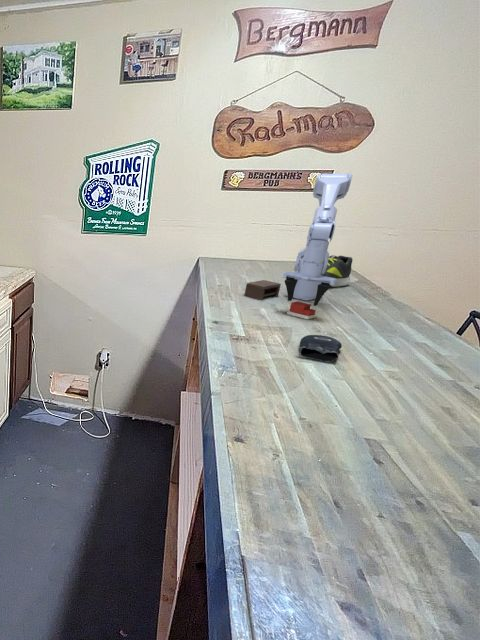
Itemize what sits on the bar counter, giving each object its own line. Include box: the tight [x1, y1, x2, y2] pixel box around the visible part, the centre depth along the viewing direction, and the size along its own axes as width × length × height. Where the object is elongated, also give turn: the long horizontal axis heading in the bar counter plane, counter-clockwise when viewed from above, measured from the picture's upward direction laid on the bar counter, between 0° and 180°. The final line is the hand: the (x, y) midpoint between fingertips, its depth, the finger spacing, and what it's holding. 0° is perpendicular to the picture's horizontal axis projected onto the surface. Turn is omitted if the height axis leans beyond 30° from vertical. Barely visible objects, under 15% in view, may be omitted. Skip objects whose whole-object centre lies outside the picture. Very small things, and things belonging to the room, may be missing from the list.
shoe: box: [286, 300, 317, 320], centre depth 151 cm, size 7×4×4 cm, turn 27°
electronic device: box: [297, 334, 343, 363], centre depth 123 cm, size 9×6×15 cm
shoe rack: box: [244, 279, 282, 301], centre depth 174 cm, size 10×7×5 cm
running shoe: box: [321, 254, 353, 288], centre depth 185 cm, size 11×30×13 cm, turn 115°
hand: (302, 302), depth 151 cm, fingers open, 7 cm apart
